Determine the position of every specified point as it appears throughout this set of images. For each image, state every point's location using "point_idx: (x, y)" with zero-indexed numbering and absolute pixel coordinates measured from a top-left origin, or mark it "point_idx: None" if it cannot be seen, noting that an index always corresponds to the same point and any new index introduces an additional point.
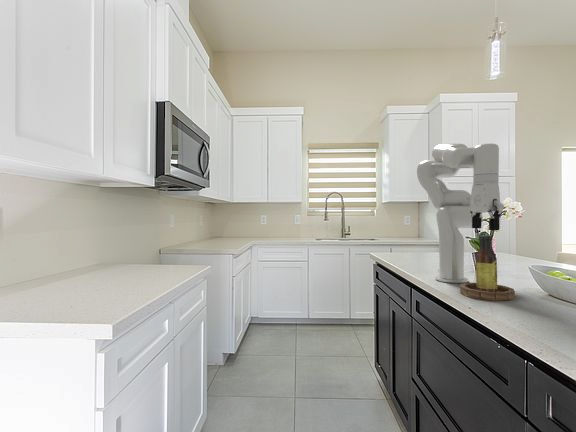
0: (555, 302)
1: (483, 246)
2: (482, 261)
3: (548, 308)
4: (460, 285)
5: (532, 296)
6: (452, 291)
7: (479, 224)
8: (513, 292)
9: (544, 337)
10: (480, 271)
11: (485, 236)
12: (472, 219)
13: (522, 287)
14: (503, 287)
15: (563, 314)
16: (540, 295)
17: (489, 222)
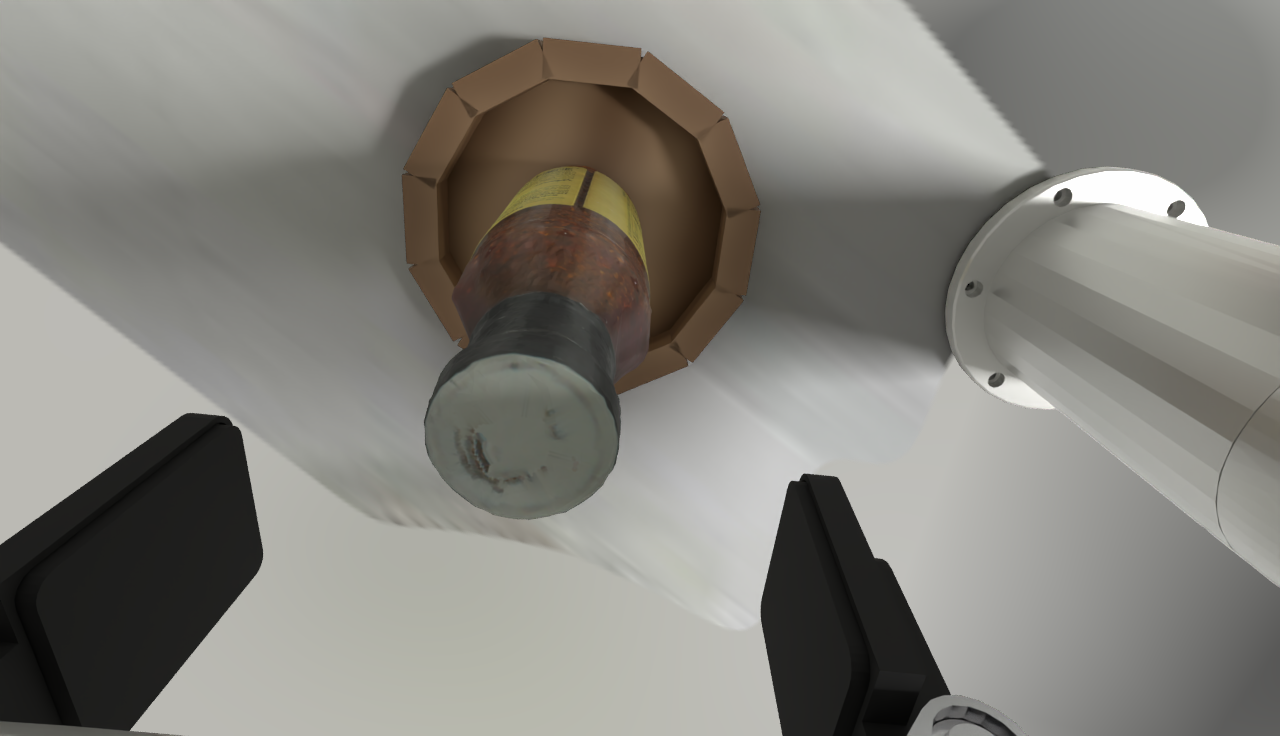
0: (394, 473)
1: (497, 309)
2: (501, 223)
3: (268, 347)
4: (676, 76)
5: None
6: (727, 38)
7: (776, 635)
8: (446, 325)
9: None
10: (534, 193)
11: (437, 385)
12: (875, 614)
13: (733, 569)
14: None
15: (155, 327)
16: (543, 517)
17: (87, 506)
